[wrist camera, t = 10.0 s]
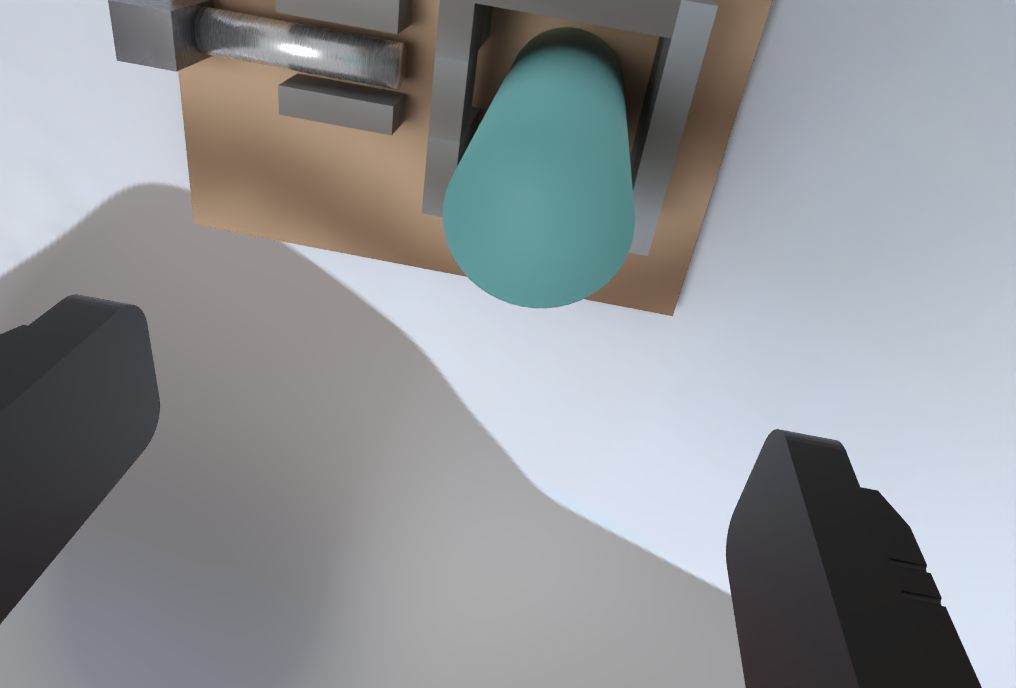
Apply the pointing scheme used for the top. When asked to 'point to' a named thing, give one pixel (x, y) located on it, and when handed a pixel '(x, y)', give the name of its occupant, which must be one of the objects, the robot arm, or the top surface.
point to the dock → (461, 125)
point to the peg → (547, 177)
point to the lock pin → (248, 42)
